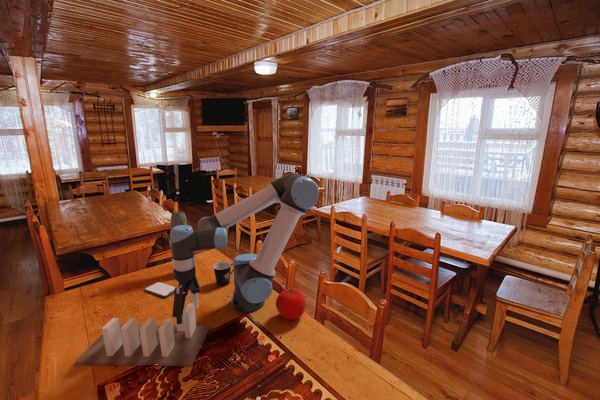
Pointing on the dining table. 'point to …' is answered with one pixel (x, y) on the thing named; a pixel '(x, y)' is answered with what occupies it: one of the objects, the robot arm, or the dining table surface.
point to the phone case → (161, 289)
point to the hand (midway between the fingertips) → (188, 318)
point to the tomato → (290, 304)
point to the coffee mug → (222, 273)
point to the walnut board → (179, 355)
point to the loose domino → (189, 320)
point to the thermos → (178, 219)
